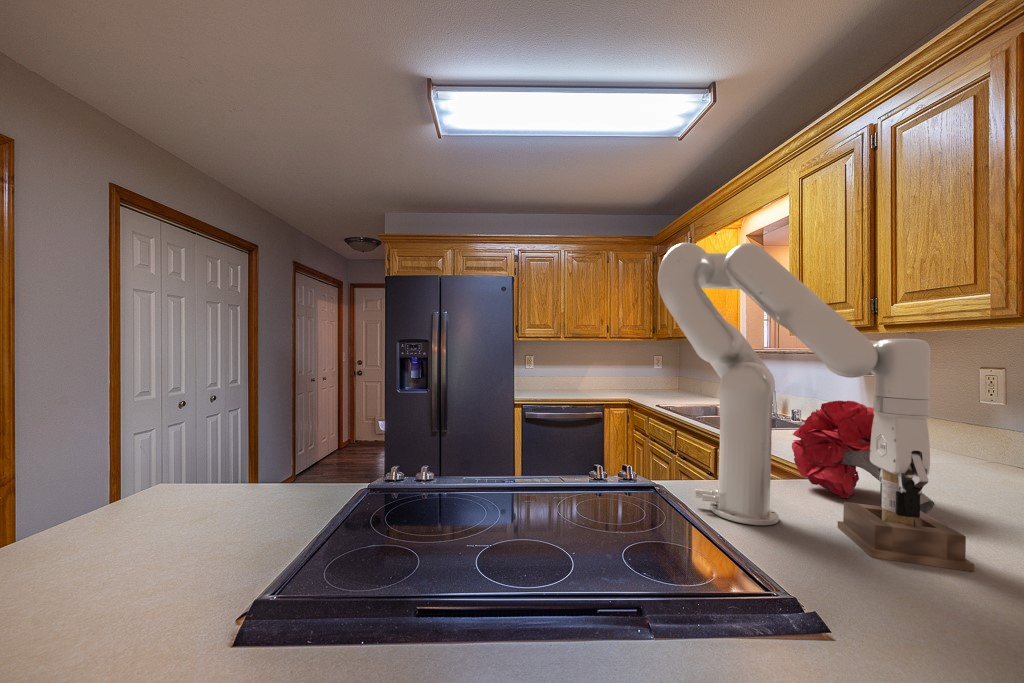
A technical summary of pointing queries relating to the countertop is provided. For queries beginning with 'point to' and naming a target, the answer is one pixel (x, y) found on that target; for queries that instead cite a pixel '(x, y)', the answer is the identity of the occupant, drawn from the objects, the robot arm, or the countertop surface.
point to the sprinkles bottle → (892, 499)
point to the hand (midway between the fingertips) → (899, 510)
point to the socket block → (905, 538)
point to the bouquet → (838, 448)
